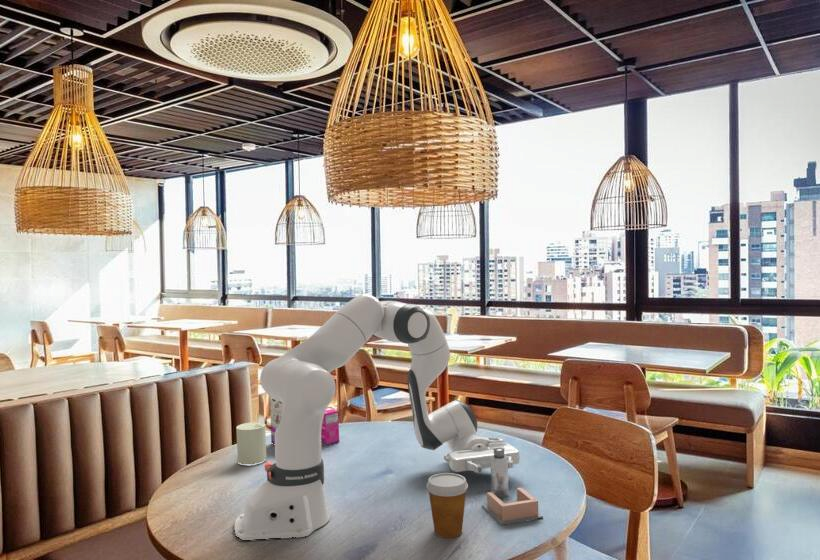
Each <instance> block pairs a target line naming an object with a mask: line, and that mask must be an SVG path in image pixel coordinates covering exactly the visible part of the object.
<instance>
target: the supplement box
mask: <svg viewBox="0 0 820 560" xmlns="http://www.w3.org/2000/svg"><path fill="white" fill-rule="evenodd" d="M338 442H339V443H340V425H339V410H337V409H334V408H331V407H328V408H327V407H326V410H325V413H324V417H323V422H322V428H321V443H322V444H321V445H323V444H324V446H325V445H328V446H330V445H329V444H332V445H335V444H334V443H336V444H339V443H338Z"/></svg>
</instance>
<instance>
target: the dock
mask: <svg viewBox="0 0 820 560" xmlns="http://www.w3.org/2000/svg"><path fill="white" fill-rule="evenodd" d="M486 502H487V503H484V504H482V505H481V507H482V508H483V509H484V510H485V511H486V513H488V514H489V515H490V516H491V517H492V518H493V519H494V520H495V521H496V522H497V523H498V524H499V525H500V526H505V525H511V524H517V523H522V521H524V522H528V521H527V520H530V521H534V520H533V519H536V520H539V519H538V518H542V519H544V515H542V514H541V513H540V512H539V500H538V499H536V498H535V497H534V496H532V495H531V494H530V493H529V492H527V491H526V490H525V489H524V488H523V487H517V488H516V499H512V500H511V499H509V500H504V501H502V500H501V498H498V497H497V496H495V495H494V494H493V493H492V492H491V491H489V492H486Z"/></svg>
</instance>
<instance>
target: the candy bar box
mask: <svg viewBox="0 0 820 560" xmlns="http://www.w3.org/2000/svg"><path fill="white" fill-rule="evenodd" d="M269 401H270V408H269V409H270V439H271V441H270V442H271V443H273V444H275V431H276V429H277V428H278V427H279V425H280V422H281V418H282V413H283V404H282V402H279V401H277V400H274V399H273V398H271V397H270V398H269ZM273 444H272V445H273Z"/></svg>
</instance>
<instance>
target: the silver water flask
mask: <svg viewBox="0 0 820 560" xmlns="http://www.w3.org/2000/svg"><path fill="white" fill-rule="evenodd" d="M490 486H491V487H490V488H491V491H490V492H492V493H493V494H494V495H495V496H497V497H498V498H499V499H504V497H505V498H508V497H509V496H508V495H510V494H509V489H510V488H509V469H508V457H507V456H506V455H504V449H503V448H494V455H492V456H491V468H490Z"/></svg>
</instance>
